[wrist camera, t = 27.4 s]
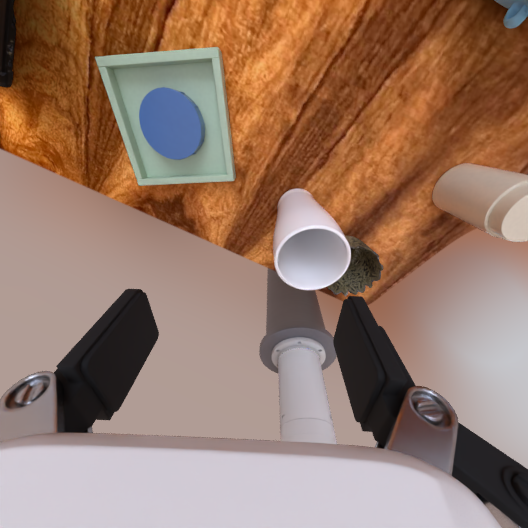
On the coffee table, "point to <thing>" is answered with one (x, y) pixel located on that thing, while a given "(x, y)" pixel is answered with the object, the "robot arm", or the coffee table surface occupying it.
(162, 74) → the tray
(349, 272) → the grey rounded piece
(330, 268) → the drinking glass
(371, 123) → the coffee table surface
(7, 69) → the game console
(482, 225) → the jar
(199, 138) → the lid
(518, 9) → the teapot
